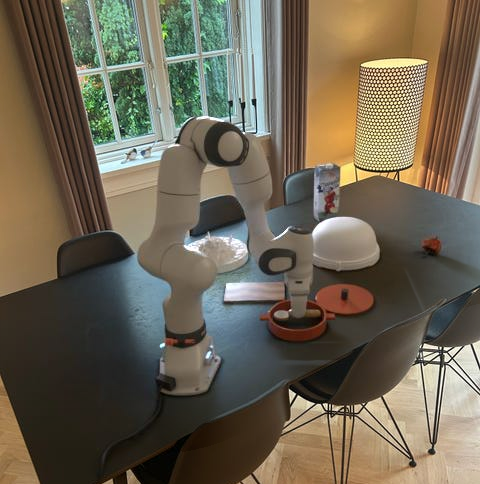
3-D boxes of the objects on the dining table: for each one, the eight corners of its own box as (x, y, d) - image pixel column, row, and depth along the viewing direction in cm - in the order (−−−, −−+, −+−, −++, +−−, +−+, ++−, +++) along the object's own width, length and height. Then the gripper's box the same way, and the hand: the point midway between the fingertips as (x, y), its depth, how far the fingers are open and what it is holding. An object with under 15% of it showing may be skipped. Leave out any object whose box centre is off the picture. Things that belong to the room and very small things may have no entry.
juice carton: (311, 218, 240) (312, 162, 225) (331, 214, 242) (334, 158, 227) (319, 225, 233) (321, 167, 218) (340, 221, 235) (343, 163, 220)
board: (284, 302, 178) (284, 299, 177) (223, 303, 180) (223, 300, 179) (284, 284, 188) (284, 281, 188) (226, 285, 190) (226, 283, 190)
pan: (337, 342, 156) (337, 330, 154) (259, 342, 158) (258, 331, 156) (331, 309, 172) (332, 298, 170) (261, 310, 174) (260, 299, 172)
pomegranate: (434, 264, 199) (449, 244, 199) (427, 253, 195) (443, 233, 195) (420, 259, 205) (435, 240, 205) (413, 249, 201) (428, 229, 201)
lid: (377, 316, 167) (378, 305, 165) (317, 316, 169) (317, 305, 166) (368, 286, 184) (369, 275, 181) (314, 287, 185) (314, 277, 183)
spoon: (320, 312, 165) (320, 306, 164) (320, 321, 161) (321, 314, 159) (274, 312, 167) (274, 306, 165) (274, 321, 162) (273, 314, 161)
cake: (188, 279, 196) (186, 257, 191) (177, 250, 219) (174, 230, 214) (256, 266, 202) (255, 245, 196) (238, 240, 225) (237, 219, 219)
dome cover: (377, 275, 190) (380, 241, 182) (299, 269, 198) (299, 236, 190) (381, 240, 215) (384, 209, 208) (312, 236, 223) (312, 206, 215)
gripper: (288, 261, 164) (288, 297, 172) (288, 292, 147) (288, 331, 155) (307, 261, 164) (306, 297, 171) (309, 292, 147) (308, 331, 154)
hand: (297, 313), depth 163 cm, fingers closed on spoon, 2 cm apart
